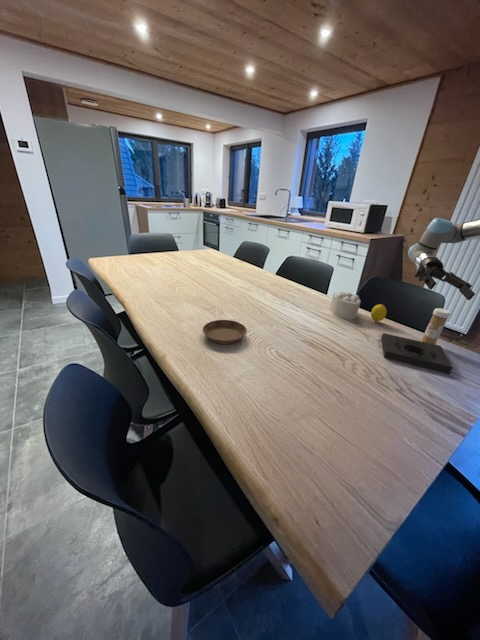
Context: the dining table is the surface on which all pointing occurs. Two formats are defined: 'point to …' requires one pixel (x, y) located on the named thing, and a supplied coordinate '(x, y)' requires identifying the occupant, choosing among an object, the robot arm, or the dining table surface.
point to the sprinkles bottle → (435, 326)
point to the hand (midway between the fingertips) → (452, 291)
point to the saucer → (224, 331)
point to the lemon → (378, 312)
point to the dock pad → (427, 352)
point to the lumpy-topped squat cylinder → (345, 305)
